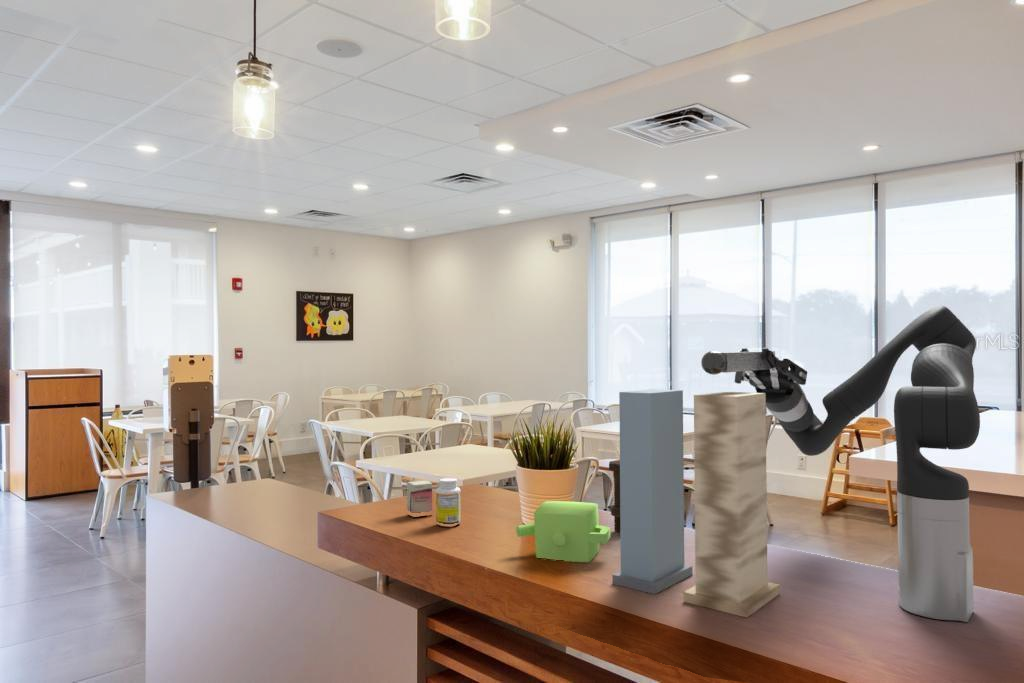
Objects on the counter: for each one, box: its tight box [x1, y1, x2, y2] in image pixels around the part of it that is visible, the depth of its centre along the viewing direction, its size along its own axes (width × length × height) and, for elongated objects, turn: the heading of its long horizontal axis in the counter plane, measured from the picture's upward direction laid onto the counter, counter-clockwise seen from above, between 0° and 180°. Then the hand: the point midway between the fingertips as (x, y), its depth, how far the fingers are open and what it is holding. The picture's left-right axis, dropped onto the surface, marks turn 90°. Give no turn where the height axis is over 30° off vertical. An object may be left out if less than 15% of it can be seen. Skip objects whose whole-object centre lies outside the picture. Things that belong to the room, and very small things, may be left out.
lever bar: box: [701, 350, 776, 376], centre depth 119 cm, size 4×26×4 cm, turn 140°
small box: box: [406, 480, 433, 513], centre depth 165 cm, size 5×4×8 cm
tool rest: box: [683, 391, 780, 618], centre depth 109 cm, size 10×13×32 cm
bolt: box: [608, 459, 620, 533], centre depth 150 cm, size 6×5×15 cm
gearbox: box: [515, 500, 611, 563], centre depth 132 cm, size 18×10×10 cm, turn 71°
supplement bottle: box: [435, 477, 462, 524], centre depth 156 cm, size 6×6×10 cm
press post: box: [611, 388, 693, 595], centre depth 118 cm, size 8×13×32 cm, turn 139°
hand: (753, 352), depth 124 cm, fingers closed on lever bar, 3 cm apart
